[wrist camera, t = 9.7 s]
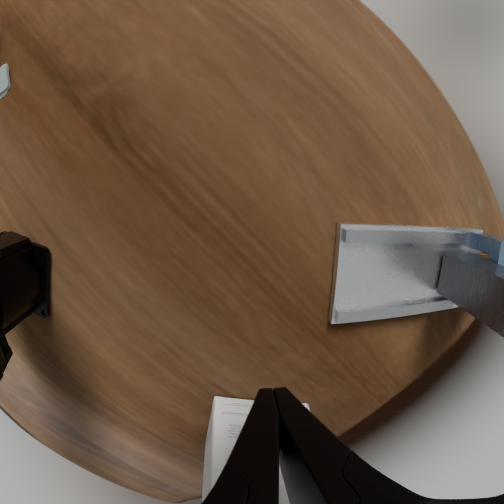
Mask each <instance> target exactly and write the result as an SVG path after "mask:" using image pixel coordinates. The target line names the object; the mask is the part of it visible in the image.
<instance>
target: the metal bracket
mask: <svg viewBox="0 0 504 504" xmlns="http://www.w3.org/2000/svg"><path fill="white" fill-rule="evenodd" d="M10 86H11V85H10V78H9V69H8V64H4V65H3V66H2V67H0V98H1V97H3V96H4V95H5V94H6V93H7V92H8V90H9V89H10Z"/></svg>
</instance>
